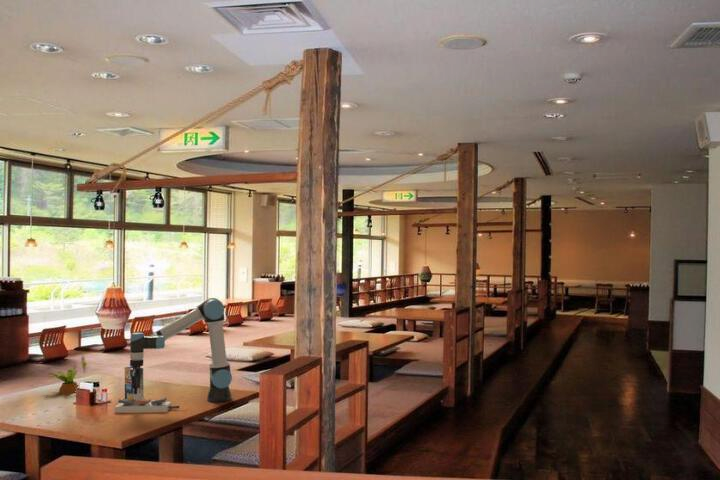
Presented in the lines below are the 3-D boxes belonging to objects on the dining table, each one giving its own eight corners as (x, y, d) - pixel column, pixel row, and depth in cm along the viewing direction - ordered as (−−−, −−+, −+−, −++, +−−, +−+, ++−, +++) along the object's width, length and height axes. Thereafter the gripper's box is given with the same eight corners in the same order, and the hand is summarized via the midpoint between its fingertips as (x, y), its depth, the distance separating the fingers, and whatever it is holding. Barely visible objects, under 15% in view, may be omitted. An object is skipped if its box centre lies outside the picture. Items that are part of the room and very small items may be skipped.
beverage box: (133, 406, 409) (132, 369, 409) (124, 403, 417) (124, 367, 417) (143, 404, 414) (143, 368, 414) (135, 401, 422) (134, 366, 422)
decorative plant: (83, 394, 441) (83, 356, 441) (44, 396, 436) (43, 358, 436) (90, 386, 468) (90, 350, 468) (52, 388, 462) (52, 351, 462)
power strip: (181, 407, 404) (181, 400, 404) (176, 412, 393) (176, 404, 393) (121, 408, 404) (121, 400, 404) (114, 412, 393) (114, 405, 393)
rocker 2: (150, 401, 399) (150, 398, 399) (148, 403, 395) (148, 399, 395) (137, 402, 399) (137, 398, 399) (134, 403, 395) (134, 400, 395)
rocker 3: (166, 400, 400) (166, 396, 400) (164, 401, 395) (164, 398, 395) (153, 403, 399) (152, 399, 399) (151, 404, 395) (150, 401, 395)
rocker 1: (134, 403, 399) (134, 400, 399) (131, 405, 395) (132, 401, 395) (120, 400, 399) (121, 397, 399) (118, 402, 395) (118, 399, 395)
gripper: (133, 357, 404) (133, 396, 404) (126, 360, 391) (125, 401, 390) (146, 357, 404) (145, 396, 404) (139, 361, 391) (138, 401, 391)
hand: (136, 399), depth 397 cm, fingers closed
